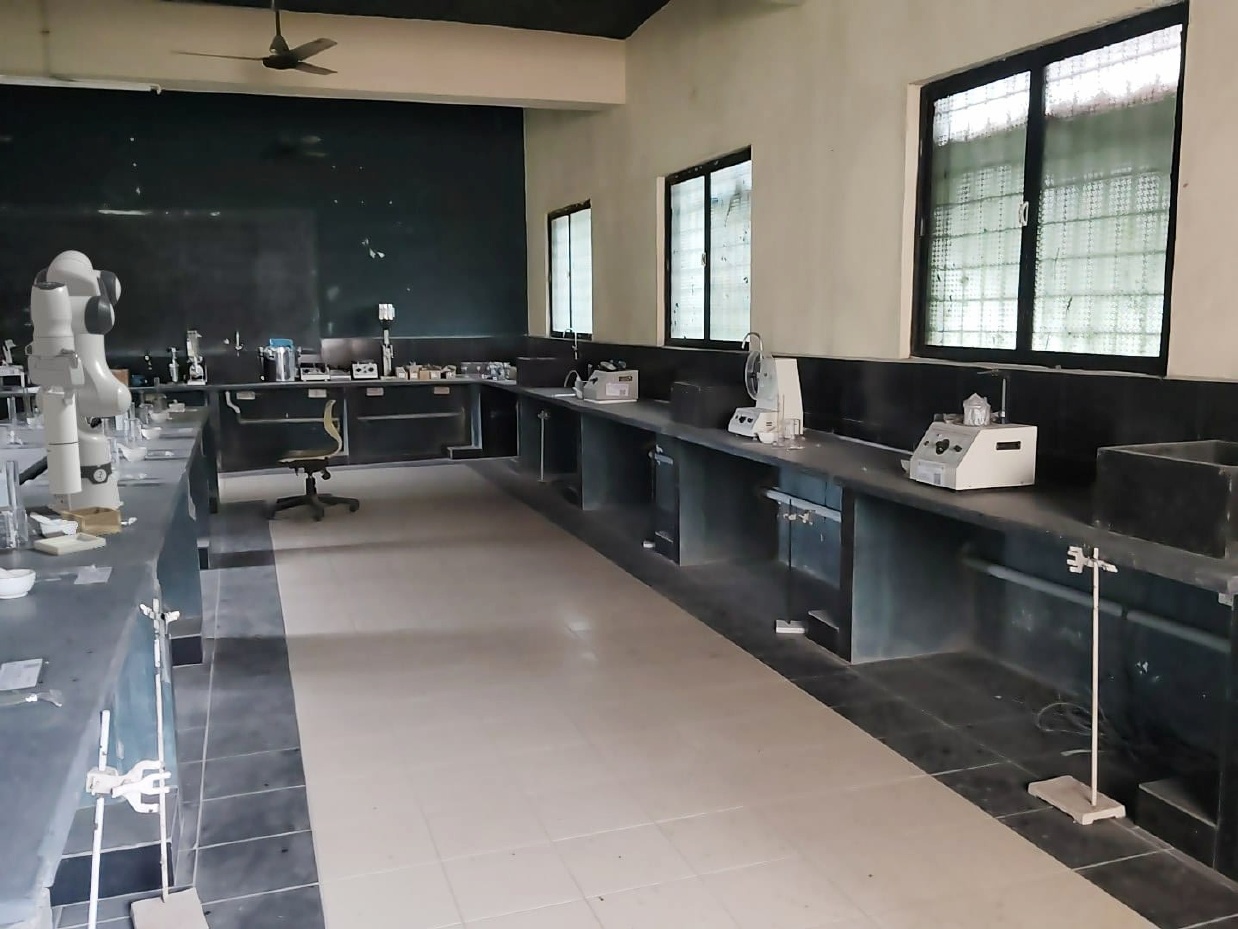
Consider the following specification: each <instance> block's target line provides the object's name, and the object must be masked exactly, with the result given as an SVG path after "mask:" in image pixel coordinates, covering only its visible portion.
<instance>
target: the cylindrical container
mask: <svg viewBox="0 0 1238 929" xmlns="http://www.w3.org/2000/svg"><path fill="white" fill-rule="evenodd" d="M62 398H64V392H52V393H43V394H42V400H43V413H44V414H43V413H42V414H43V424H44V426H43V427H44V436H45V437H44V438H45V448H46V460H47V472H48V473H47V474H48V475H47V476H48V485H49V486H48V487H49V494H52V495H53V494H70V493H77V492H80V491H82V489H81V475H80V461H79V448H78V442H77V441H78V435H77V420H76V407H75V394H74V395H73V398H72V399H73V404H72V405H64V404H63V401H62Z"/></svg>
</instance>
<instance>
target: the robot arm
mask: <svg viewBox="0 0 1238 929" xmlns="http://www.w3.org/2000/svg"><path fill="white" fill-rule="evenodd" d="M33 282H34V285H32V286H31V287H32V288H31V296H30V305H29V308H28V309H29V311H28V312H29V320H30V321H29V322H30V324H31V326H32V327H33V328H34V329H33V333H32V338H33V339H32V340H33V341H31V342H30V343H29V344H28V345H26V346H25V348H24V352H25V355H27V356H28V357H27V367H28V368H27V369H28V375H29V379H30V382H31V383H32V384H33V385H40V386H39V388H38V389H37V392H36V394H35V404H36V407H37V408H38V410H39V412H40V413H41V414H42V415H44V413H43V400H42V394H43V393H52V392H64V398H62V401H63V404H64V405H72V404H73V399H72V398H73V395H74V394H75V407H76V420H77V435H78V441H77V442H78V448H79V461H80V475H81V489H82V491H80V492H77V493H70V494H52V495H53V498H54V499H55V502H52V503H49V504H47V507H48V509H49V510H51V509H52V510H51V511H53V512H55V513H56V514H59V515H61V512H64V511H71V510H77V509H83V508H89V507H95V506H103V507H107V508H112V509H116V510H119V508H120V507H121V506H124V501H122V500H120V495H119V489H118V483H117V479H115V478H114V477H113V476H112V475H113V466H112V462H111V461H110V449H109V448H110V447H109V439H108V438H107V435H105V434H104V433H103V432H102V431H100V430H98V429H95V428H94V427H91V426H90V424H89V423H88V421H87V419H86V418H111V417H117V416H121V415H125V414H126V413H127V412H128V411H129V410H130V408H131V405H132V394H131V392H130V391H131V390H129V388H128V386H126V384H125V383H123V382H122V381H120V379H118V378H117V377H116V376H115V375H114V374H113V372H112V371H111V370H110V368H109V365H108V364H107V360H106V352H105V335H106V334H107V333H108V332H110V331H111V330H112V329H113V328H114V327H113V326H114V324H115V312H114V308H113V307H114V306H115V305H116V304H117V303H118V301H119V299H120V296H121V291H122V287H121V283H120V281H119V279H118V276H117V275H116V274H115V273H114V272H112V271H108V270H103V269H101V270H97V269H93V266H92V262H91V260H90V259H89V258H88V256H87V255H85V254H84V253H82V252H80V251H77V250H66V251H63V252H61V253H60V254H58V255H57V256H55V258H54V259H53V260H52V262H51V263H50V265H49V266H47V267H46V268H44V269H41V270H40V271H38V273H37V274H36V277H35V279H34V281H33Z"/></svg>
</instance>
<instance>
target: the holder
mask: <svg viewBox="0 0 1238 929" xmlns="http://www.w3.org/2000/svg"><path fill="white" fill-rule="evenodd" d="M60 516H61V518H60V519H61V521H62V520H67V521H76V522H77V523H78V527H77V529H76V533H85V534H89V535H93V536H97V537H100V536H99V535H102V536H104V535H103V534H108V535H112V534H111V533H113V534H118V533H117V532H119V533H123V532H122V531H123V530H122V514H121V510H119V509H112V508H107V507H103V506H95V507H89V508H83V509H77V510H71V511H64V512H61V514H60Z"/></svg>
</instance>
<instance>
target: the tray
mask: <svg viewBox="0 0 1238 929" xmlns="http://www.w3.org/2000/svg"><path fill="white" fill-rule="evenodd" d="M106 541H107V540H106V538H103V537H101V536H97V537H96V536H93V535H89V534H85V533H76V534H70V535H66V534H64V535H61V536H56V537H55V536H54V537H49V538H43V539H38V540H34V541H33V545H34V550H38V551H40V552H41V551H42V552H45V553H48V554H51V555H55V556H64V555H68V554H69V553H70V554H74V552H75V553H79V552H85V551H88V550H94V549H93V548H95V549H99V548H98V547H100V548H103V547H102V546H105V547H107V542H106Z"/></svg>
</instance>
